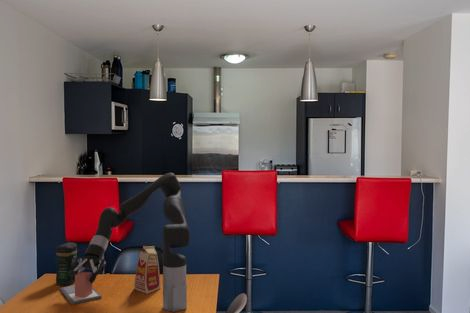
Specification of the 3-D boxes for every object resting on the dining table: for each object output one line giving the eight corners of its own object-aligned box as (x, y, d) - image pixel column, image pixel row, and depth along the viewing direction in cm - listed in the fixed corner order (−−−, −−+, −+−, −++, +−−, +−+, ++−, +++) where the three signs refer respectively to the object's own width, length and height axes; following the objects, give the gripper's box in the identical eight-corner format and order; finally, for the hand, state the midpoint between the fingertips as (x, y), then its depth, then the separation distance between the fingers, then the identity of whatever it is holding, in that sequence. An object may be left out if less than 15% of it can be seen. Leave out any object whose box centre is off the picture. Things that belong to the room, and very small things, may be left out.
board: (101, 298, 170) (101, 295, 170) (71, 304, 163) (71, 301, 163) (87, 285, 186) (87, 282, 186) (60, 290, 179) (60, 287, 179)
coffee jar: (69, 286, 184) (69, 246, 184) (53, 285, 185) (53, 245, 185) (80, 279, 194) (79, 241, 194) (64, 278, 195) (64, 240, 195)
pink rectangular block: (92, 293, 173) (92, 272, 172) (85, 297, 168) (85, 276, 168) (82, 292, 174) (82, 271, 174) (74, 296, 169) (74, 275, 169)
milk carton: (146, 293, 176) (146, 248, 176) (133, 289, 182) (133, 245, 181) (162, 287, 183) (162, 244, 183) (148, 283, 189) (148, 241, 189)
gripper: (114, 253, 181) (100, 287, 170) (86, 251, 185) (70, 284, 174) (108, 244, 176) (92, 278, 165) (79, 242, 179) (62, 275, 168)
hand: (81, 281), depth 169 cm, fingers open, 8 cm apart
